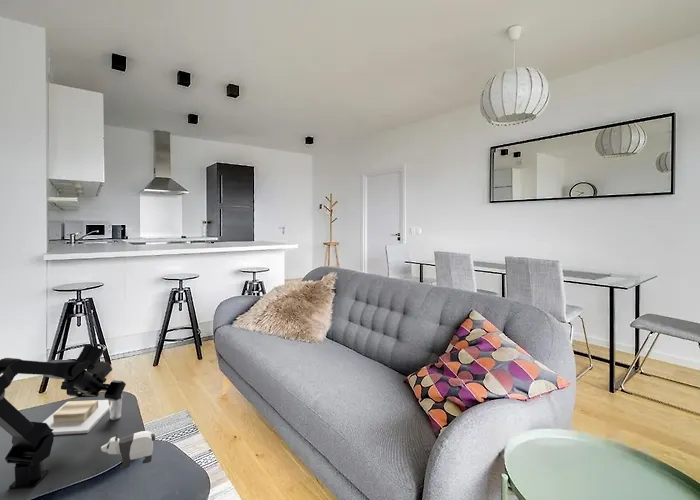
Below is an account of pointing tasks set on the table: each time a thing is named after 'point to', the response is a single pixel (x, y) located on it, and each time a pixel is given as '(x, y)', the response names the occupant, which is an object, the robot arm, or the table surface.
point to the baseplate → (78, 426)
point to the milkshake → (115, 409)
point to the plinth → (75, 411)
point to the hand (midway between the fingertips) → (109, 396)
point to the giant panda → (131, 447)
